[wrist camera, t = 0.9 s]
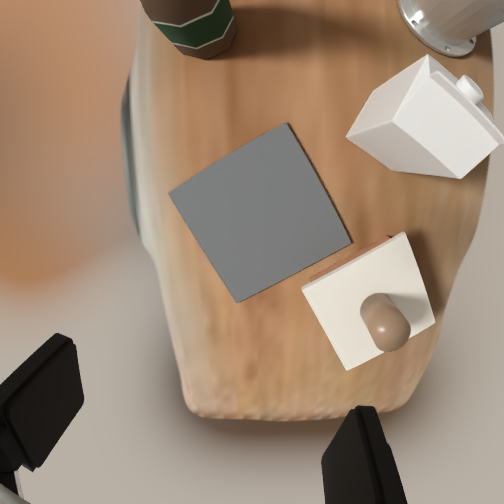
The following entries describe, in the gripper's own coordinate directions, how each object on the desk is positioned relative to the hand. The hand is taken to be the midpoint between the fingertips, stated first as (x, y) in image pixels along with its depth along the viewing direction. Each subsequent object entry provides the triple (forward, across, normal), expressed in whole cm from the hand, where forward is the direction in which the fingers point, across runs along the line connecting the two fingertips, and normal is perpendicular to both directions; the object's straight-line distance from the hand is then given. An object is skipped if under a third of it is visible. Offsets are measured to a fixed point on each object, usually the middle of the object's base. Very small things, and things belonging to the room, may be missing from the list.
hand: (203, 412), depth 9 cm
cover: (+24, -16, +5) cm, 29 cm away
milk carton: (+29, -12, -15) cm, 35 cm away
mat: (+28, 0, -2) cm, 29 cm away
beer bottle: (+29, +11, -23) cm, 38 cm away
